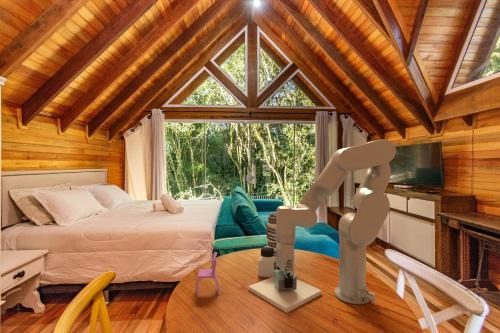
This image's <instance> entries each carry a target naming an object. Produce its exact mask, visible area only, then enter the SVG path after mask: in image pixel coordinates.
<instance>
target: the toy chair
mask: <svg viewBox="0 0 500 333" xmlns="http://www.w3.org/2000/svg"><path fill="white" fill-rule="evenodd" d="M217 254H218V252H216V251H214V252H213V255H212V258H211V262H210V265H211V266H210V269H207V268H200V269H199V270H198V273H197V276H196V282H195V290H196V291H195V292H196V296H197V297H198V296H199V291H200V285H199V280H200V279H214V280H215V283H216V288H217V295H219V296H220V285H219V279H218V274H217V271H216V267H217V256H218V255H217Z"/></svg>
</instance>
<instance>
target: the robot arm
mask: <svg viewBox="0 0 500 333" xmlns="http://www.w3.org/2000/svg"><path fill="white" fill-rule="evenodd" d="M396 153H397V148H396V146H395V144H394V143H393V142H391V141H390V140H388V139H384V138H383V139H382V138H381V139H377V140H372V141H368V142H366V143H362V144H359V145H355V146H350V147H349V146H348V147H344V148H340V149H338V150H336V151H335V152H334V153H333V155H332V156H331V157H330V159H329V160H328V162H327V163H326V164H325V167H324V168H323V170H322V172H321V173H320V174H319V176H318V177H317V178H316V180H315V181H314V182H313V183H312V185H311V186H310V187H309V189H308V190H307V191H306V192H305V193H304V195H303V197H301V199H300V201H299V203H298V204H297V206H296V208H295V207H294V206H292V205H280V206H278V207H276V212H275V213H276V242H277V244H276V257H275V262H276V264H277V266H276V267H277V268H276V270H279V269H281V270H282V271H283V270H284V271H285V278H284V287H285V288H293V275H294V274H295V270H294V269H295V245H294V244H296V234H297V233H296V229H297V228H296V227H299V228H305V229H308V228H313V227H314V226H315V225H316V224H317V222H318V215H317V213H316V211H317V210H318V208H319V207H320V205H321V204H322V203H323V202H324V201H325V200H326V199H327V198H329V197H330V196H333V195H334V194H335V193H337V192H338V190H339V189H340V187H341V185H342V184H343V183H344V181H345V179H346V178H347V176H348V175H349V173H350V172H356V171H360V170H365V174H364V177H363V178H362V181H361V183H360V185H359V186H358V189H357V191H356V193H355V194H354V196H353V200H352V203H353V206H354V208H356V212H347V213H345V214H343V215H342V216H341V217H340V219H339V223H338V237H339V239H338V240H339V253H338V255H339V256H338V260H339V261H338V286H336V287H335V288H334V292H333V294H334V295H335V297H336V298H337V299H339V300H341V301H342V302H345V303H348V304H351V305H352V304H353V305H364V304H367V303H369V302H372V303H376V300H377V298H376V293H374V292H370V291H369V286H367V285H366V284H367V283H366V282H367V281H366V279H367V278H366V277H367V276H366V275H367V246H369V245H371V244H372V243H373V242H374V241H375V240H376V238H377V237H378V235H379V233H380V230H382V229H381V228H383V225H384V223H385V222H386V219H387V217H388V215H389V212H390V207H391V205H390V203H391V202H390V199H389V197H388V196H387V195H386V194H385V191H386V189H387V187H388V185H389V182H390V179H391V175H392V173H391V172H392V170H391V165H390V162H391V161H392V160H394V158H395V157H396ZM287 271H289V272H288V274H287Z"/></svg>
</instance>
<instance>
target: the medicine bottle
mask: <svg viewBox="0 0 500 333" xmlns="http://www.w3.org/2000/svg"><path fill="white" fill-rule="evenodd" d="M257 264H258V266H257V267H258V269H257V276H258V277H259V278H261V277H262V278H267V279H268V278H271V277H274V270H277V268H276V267H277V266H276V262H275V257H274V249H273V248H272V247H268V246H267V245H266V246H263V247H261V248H260V257H259V258H258V262H257Z"/></svg>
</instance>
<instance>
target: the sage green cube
mask: <svg viewBox="0 0 500 333" xmlns="http://www.w3.org/2000/svg"><path fill="white" fill-rule="evenodd" d="M288 272H289V271H287V274H288ZM297 277H298V276H297V275H296V273H294V275H293V288H285V287H284V278H285V271H284V270H283V271H282V270H281V269H279V270H277V269H276V270H274V283H275V285H276V287H277V289H278V290H279V291H281V290H296V287H297V280H298V278H297Z"/></svg>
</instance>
